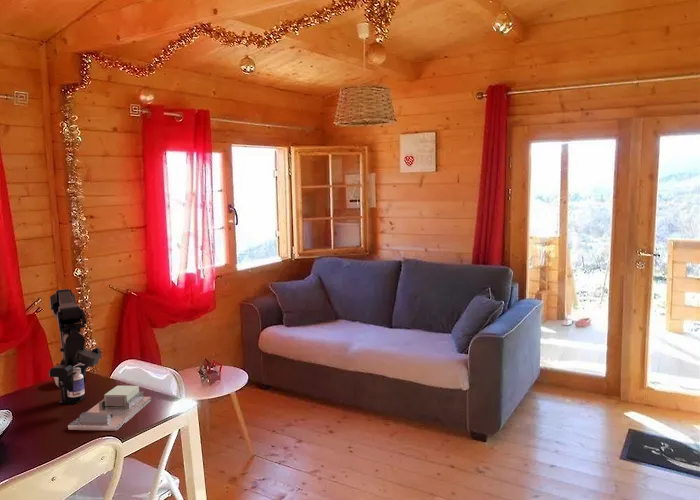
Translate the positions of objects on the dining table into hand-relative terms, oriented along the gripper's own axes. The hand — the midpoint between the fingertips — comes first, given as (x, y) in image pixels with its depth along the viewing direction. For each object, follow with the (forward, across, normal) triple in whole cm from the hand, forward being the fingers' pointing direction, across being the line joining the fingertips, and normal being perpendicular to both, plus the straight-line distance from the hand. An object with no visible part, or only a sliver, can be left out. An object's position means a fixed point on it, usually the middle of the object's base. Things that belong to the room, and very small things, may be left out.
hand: (75, 388), depth 190 cm
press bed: (+9, +1, -12) cm, 15 cm away
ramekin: (+9, +30, +21) cm, 38 cm away
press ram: (+7, +8, -12) cm, 16 cm away
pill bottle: (+2, 0, 0) cm, 2 cm away
